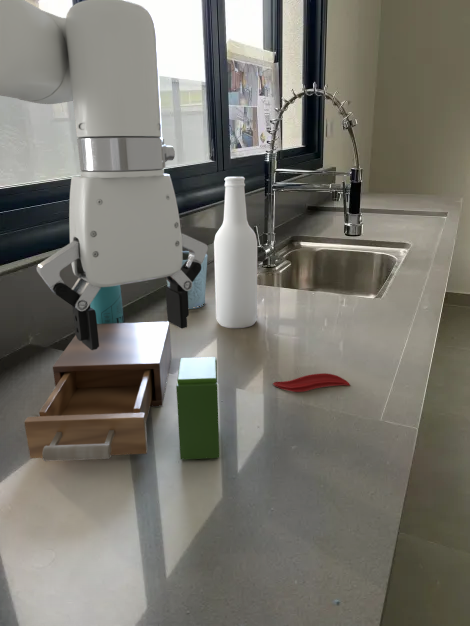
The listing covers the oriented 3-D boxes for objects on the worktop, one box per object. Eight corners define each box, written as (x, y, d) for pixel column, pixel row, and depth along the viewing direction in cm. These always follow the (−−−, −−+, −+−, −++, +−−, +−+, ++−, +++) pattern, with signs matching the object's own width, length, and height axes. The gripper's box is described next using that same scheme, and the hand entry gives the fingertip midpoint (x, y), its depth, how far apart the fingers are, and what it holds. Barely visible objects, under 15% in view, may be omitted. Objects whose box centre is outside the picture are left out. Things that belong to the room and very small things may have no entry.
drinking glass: (186, 296, 126) (183, 249, 122) (217, 302, 120) (216, 253, 116) (157, 306, 118) (154, 256, 114) (190, 313, 112) (187, 261, 109)
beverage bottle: (122, 351, 92) (112, 243, 85) (86, 351, 92) (74, 244, 85) (130, 338, 98) (121, 237, 91) (96, 338, 98) (85, 237, 92)
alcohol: (248, 331, 101) (247, 178, 91) (209, 326, 104) (204, 178, 94) (262, 318, 108) (263, 176, 99) (225, 313, 112) (222, 175, 102)
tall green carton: (180, 462, 59) (176, 382, 55) (183, 428, 66) (179, 355, 62) (219, 461, 59) (217, 381, 55) (218, 427, 66) (216, 354, 63)
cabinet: (162, 406, 72) (159, 363, 69) (58, 410, 71) (52, 366, 69) (171, 357, 88) (169, 321, 86) (87, 360, 88) (83, 324, 86)
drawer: (141, 478, 54) (138, 439, 53) (15, 483, 54) (8, 444, 52) (160, 389, 74) (158, 359, 73) (68, 393, 74) (64, 362, 72)
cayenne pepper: (271, 390, 76) (271, 379, 75) (273, 377, 80) (274, 366, 80) (351, 394, 74) (352, 383, 73) (349, 381, 78) (350, 370, 78)
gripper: (183, 157, 53) (189, 310, 58) (12, 161, 44) (38, 343, 49) (223, 158, 47) (226, 327, 53) (35, 162, 38) (62, 368, 43)
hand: (135, 334), depth 51 cm, fingers open, 9 cm apart
